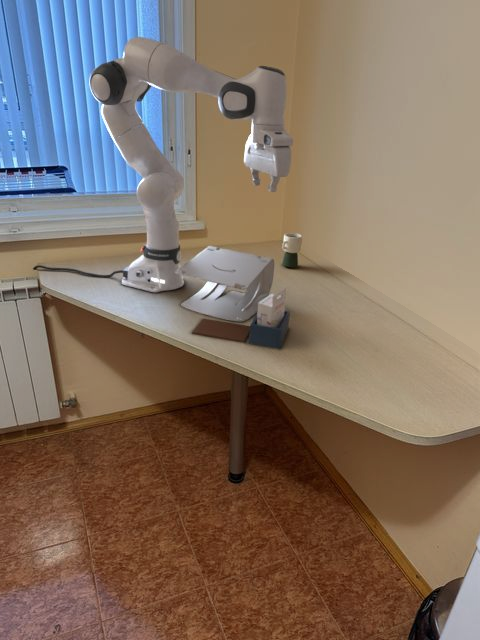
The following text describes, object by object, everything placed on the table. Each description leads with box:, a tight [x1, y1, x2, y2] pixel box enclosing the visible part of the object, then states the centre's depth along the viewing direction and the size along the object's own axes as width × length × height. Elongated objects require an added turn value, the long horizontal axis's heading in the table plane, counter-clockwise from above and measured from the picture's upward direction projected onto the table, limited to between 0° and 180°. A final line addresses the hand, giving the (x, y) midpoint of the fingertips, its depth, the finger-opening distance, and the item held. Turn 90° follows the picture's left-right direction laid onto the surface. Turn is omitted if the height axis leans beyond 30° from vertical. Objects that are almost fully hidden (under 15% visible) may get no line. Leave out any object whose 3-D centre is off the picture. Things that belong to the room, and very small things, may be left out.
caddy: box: [248, 310, 291, 350], centre depth 143 cm, size 9×13×6 cm
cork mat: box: [191, 317, 250, 343], centre depth 146 cm, size 16×10×1 cm, turn 74°
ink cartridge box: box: [256, 287, 287, 328], centre depth 140 cm, size 9×5×15 cm, turn 148°
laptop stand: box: [175, 245, 275, 323], centre depth 160 cm, size 26×24×16 cm
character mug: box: [281, 232, 303, 268], centre depth 195 cm, size 11×7×13 cm, turn 131°
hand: (263, 188), depth 138 cm, fingers open, 8 cm apart
